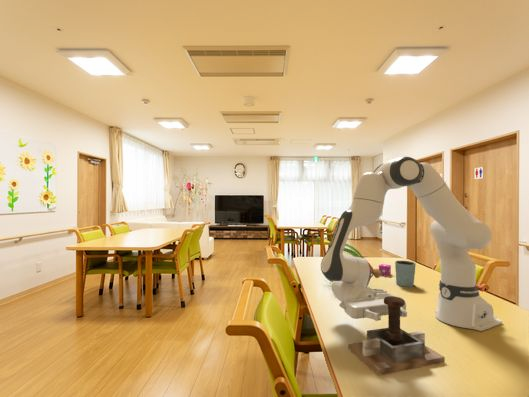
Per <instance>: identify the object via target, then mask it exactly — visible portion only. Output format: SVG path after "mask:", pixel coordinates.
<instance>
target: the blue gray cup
mask: <svg viewBox="0 0 529 397" xmlns="http://www.w3.org/2000/svg"><path fill="white" fill-rule="evenodd" d="M394 264H395V265H394V267H395V268H394V269H395V283H396V285H397V286H401V287H406V288H407V287H408V288H411V287H412V288H413V287H414V284H415V274H416V267H417V266H416V262H413V261H410V260H396V261H394Z"/></svg>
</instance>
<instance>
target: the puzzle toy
mask: <svg viewBox="0 0 529 397" xmlns="http://www.w3.org/2000/svg"><path fill="white" fill-rule="evenodd" d="M391 268H392V265H391V264H384V263H381V264H379V265H378V269H379V270H380V271H381V273H382V275H381V276H383V277H384V276H385V277H390V275H391V273H392V270H391Z"/></svg>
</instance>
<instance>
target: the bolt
mask: <svg viewBox="0 0 529 397" xmlns="http://www.w3.org/2000/svg"><path fill="white" fill-rule="evenodd" d="M395 296H396V295H395ZM395 296H387V297H385V298H384V304H387V305H388V312H389V313H388V315H387V318H388V327H387V328H389V329H387V330H386V332H385V336H386V337H387V338H388V343H389V344H390V345H392V346H396V345H400V341H401V340H402V339H403V333H402V331H400V329H401V316H400V311H401V307H403V306H404V305H405V302H406V301H405V299H404V298H402V297H400V296H397V297H395Z"/></svg>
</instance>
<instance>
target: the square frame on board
mask: <svg viewBox="0 0 529 397" xmlns="http://www.w3.org/2000/svg"><path fill="white" fill-rule="evenodd" d="M387 329H389V328H388V327H383V328H377V329H369V330H366V339H363V340H362V341H359V342H351V343H348V344H347V345H348V346H347V347H348V350H349V351H350V352H352V354H353V355H355V356H356V357H357V358H358V359H359V360H360V361H361V362H362V363H364V364H365V365H366V366H367V367H368V368H369V369H371V370H372V371H373V372H374V373H376V374H377V376H382V375H387V374H392V373H397V372H402V371H406V370H407V371H408V370H413V369H418V368H421V367H427V366H432V365H433V366H434V365H437V364H438V365H439V364H443V363H445V361H446V360H445V358H446V356H444V355H442V354H441V353H438V352H437V351H436V350H434V349H433V348H430V347H429V346H427V345H426V343H425V342H426V340H425V339H426V333H425V332H424V331H414V332H413V331H412V332H407V331H405V330H403V329H402V328H400V331H402V333H403V339H402V340H401V341H400V345H396V346H392V345H390V344H389V343H388V338H387V337H386V336H385V332H386V330H387Z"/></svg>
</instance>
